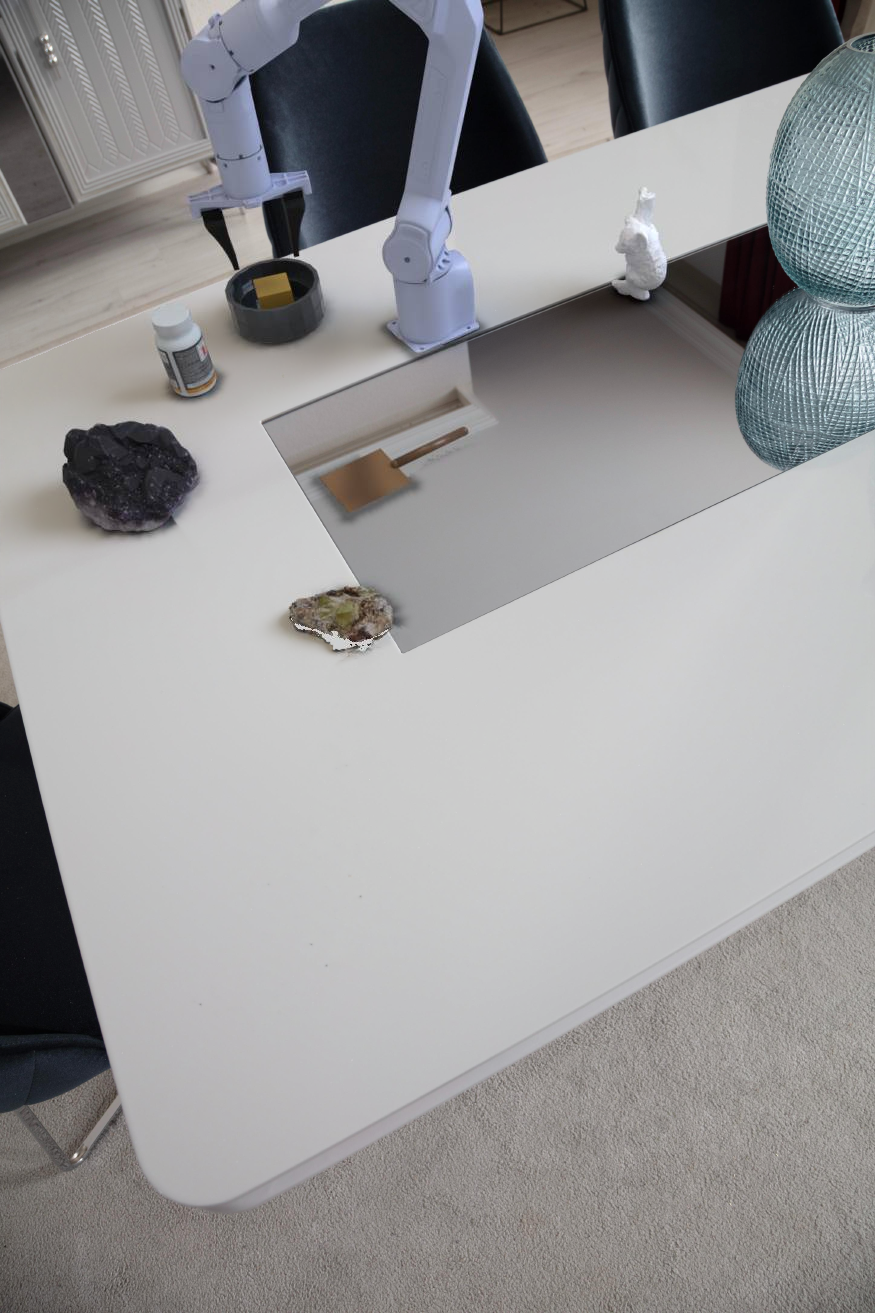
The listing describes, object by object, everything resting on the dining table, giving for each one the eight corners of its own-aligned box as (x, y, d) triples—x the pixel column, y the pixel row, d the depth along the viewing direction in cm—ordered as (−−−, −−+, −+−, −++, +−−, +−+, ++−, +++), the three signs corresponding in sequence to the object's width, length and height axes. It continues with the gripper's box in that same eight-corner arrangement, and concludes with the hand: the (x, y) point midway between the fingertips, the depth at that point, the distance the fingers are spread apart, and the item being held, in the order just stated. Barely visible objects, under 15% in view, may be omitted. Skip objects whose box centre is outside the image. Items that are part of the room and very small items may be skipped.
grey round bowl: (300, 281, 128) (292, 247, 124) (341, 321, 122) (335, 287, 118) (220, 314, 125) (210, 280, 121) (258, 357, 119) (249, 323, 115)
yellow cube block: (292, 302, 125) (285, 271, 121) (298, 320, 122) (291, 289, 119) (260, 309, 124) (252, 279, 121) (265, 327, 122) (257, 297, 118)
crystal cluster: (226, 493, 105) (203, 416, 98) (126, 555, 99) (93, 478, 91) (158, 453, 112) (132, 378, 105) (61, 508, 105) (26, 433, 98)
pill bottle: (222, 369, 118) (199, 299, 110) (211, 398, 114) (187, 328, 106) (179, 370, 118) (154, 300, 111) (167, 399, 115) (140, 328, 107)
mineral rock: (402, 575, 91) (383, 622, 85) (406, 611, 94) (388, 660, 88) (298, 570, 93) (272, 616, 87) (305, 606, 96) (280, 653, 90)
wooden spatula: (451, 418, 108) (450, 409, 107) (484, 450, 105) (484, 441, 104) (319, 481, 104) (317, 473, 103) (349, 516, 100) (347, 508, 99)
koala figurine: (613, 272, 123) (620, 181, 114) (665, 273, 122) (676, 182, 113) (608, 309, 119) (614, 218, 109) (661, 311, 117) (673, 219, 108)
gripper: (179, 177, 103) (213, 288, 114) (306, 150, 104) (327, 262, 115) (173, 149, 107) (206, 259, 118) (295, 123, 108) (317, 234, 119)
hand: (265, 259), depth 117 cm, fingers open, 7 cm apart
